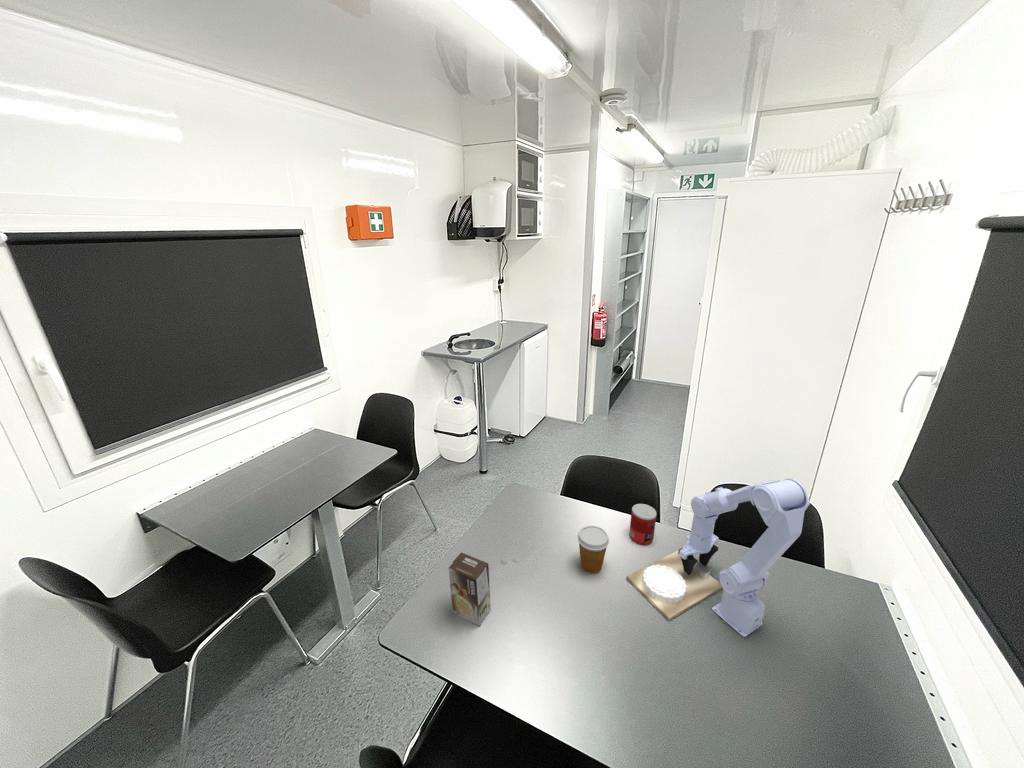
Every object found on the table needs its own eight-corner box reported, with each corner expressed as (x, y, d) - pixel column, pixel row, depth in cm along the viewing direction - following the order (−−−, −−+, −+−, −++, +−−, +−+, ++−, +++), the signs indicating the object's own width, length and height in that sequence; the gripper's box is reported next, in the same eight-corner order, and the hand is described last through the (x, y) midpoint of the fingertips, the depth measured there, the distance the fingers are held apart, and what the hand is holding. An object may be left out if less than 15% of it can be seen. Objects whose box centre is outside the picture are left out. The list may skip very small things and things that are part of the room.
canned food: (648, 549, 131) (652, 521, 127) (625, 538, 135) (628, 512, 131) (656, 536, 136) (660, 509, 133) (633, 526, 141) (636, 500, 137)
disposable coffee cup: (604, 555, 128) (607, 525, 124) (608, 579, 119) (611, 547, 115) (575, 553, 129) (576, 523, 125) (576, 577, 120) (578, 545, 116)
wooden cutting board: (722, 588, 115) (724, 579, 114) (668, 620, 106) (670, 611, 105) (677, 552, 129) (679, 544, 128) (626, 578, 119) (627, 569, 118)
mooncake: (668, 613, 108) (670, 604, 106) (632, 584, 117) (634, 574, 116) (693, 592, 114) (696, 583, 113) (658, 566, 123) (659, 557, 122)
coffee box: (492, 608, 110) (490, 563, 105) (479, 627, 105) (477, 580, 99) (464, 595, 114) (461, 551, 109) (451, 613, 109) (447, 567, 103)
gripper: (706, 516, 122) (699, 551, 127) (673, 531, 116) (667, 567, 121) (727, 529, 117) (719, 566, 121) (693, 546, 110) (686, 584, 115)
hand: (695, 568), depth 121 cm, fingers open, 6 cm apart
